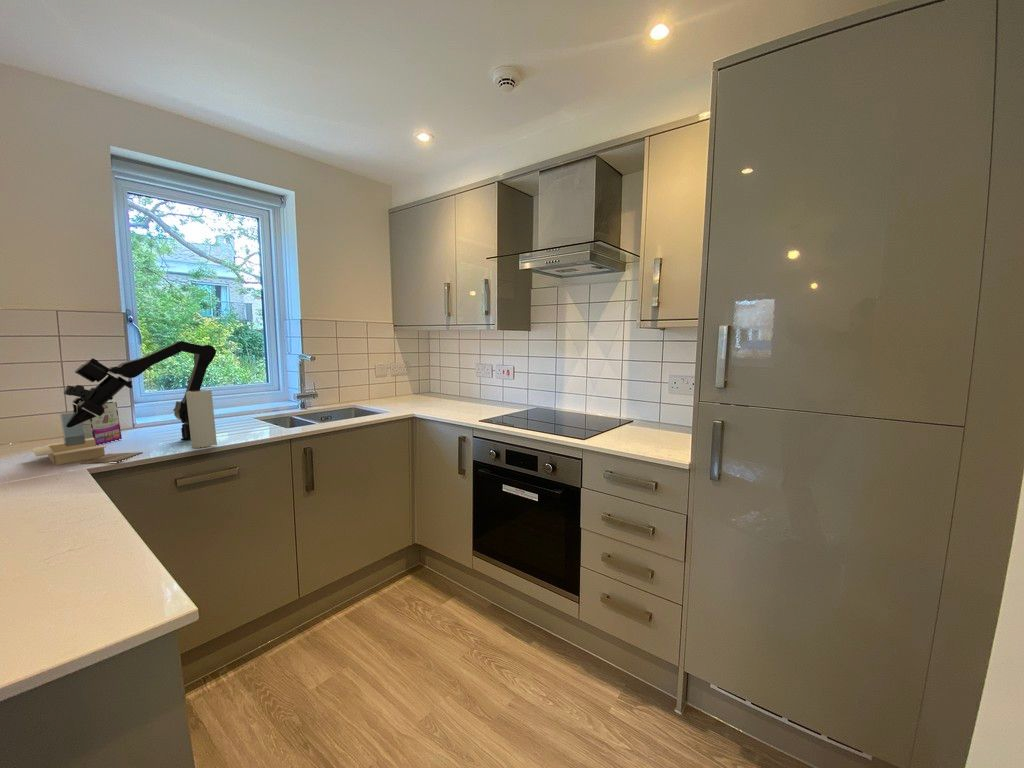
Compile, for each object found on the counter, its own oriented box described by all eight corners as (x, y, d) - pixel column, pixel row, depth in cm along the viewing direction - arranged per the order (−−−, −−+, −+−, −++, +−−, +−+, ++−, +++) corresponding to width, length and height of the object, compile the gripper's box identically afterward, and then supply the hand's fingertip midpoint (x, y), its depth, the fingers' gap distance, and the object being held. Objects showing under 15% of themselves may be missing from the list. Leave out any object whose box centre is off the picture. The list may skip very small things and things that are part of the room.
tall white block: (187, 447, 157) (181, 391, 155) (204, 443, 163) (199, 389, 160) (200, 449, 154) (194, 391, 152) (217, 445, 160) (211, 389, 158)
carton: (116, 445, 162) (114, 434, 162) (130, 454, 148) (128, 442, 148) (32, 459, 145) (30, 446, 145) (39, 471, 131) (37, 457, 131)
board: (142, 454, 149) (142, 452, 149) (118, 463, 138) (118, 461, 138) (108, 456, 148) (108, 453, 148) (80, 465, 137) (80, 462, 137)
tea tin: (83, 441, 149) (78, 411, 147) (85, 443, 146) (80, 412, 145) (64, 444, 145) (59, 413, 144) (66, 446, 142) (61, 414, 141)
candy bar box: (110, 440, 173) (105, 400, 171) (122, 439, 172) (117, 400, 171) (82, 447, 161) (76, 405, 160) (95, 447, 161) (89, 405, 160)
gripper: (76, 375, 151) (35, 410, 144) (86, 377, 140) (42, 415, 133) (109, 394, 159) (72, 428, 151) (120, 397, 147) (81, 434, 140)
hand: (66, 426), depth 144 cm, fingers closed on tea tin, 4 cm apart
